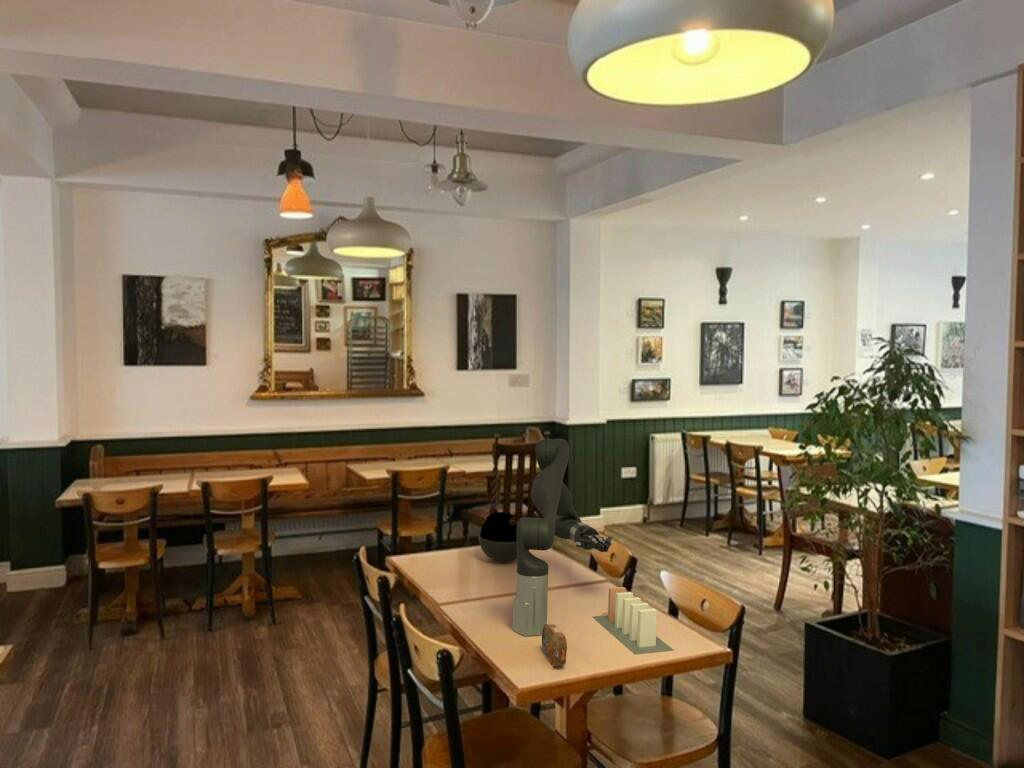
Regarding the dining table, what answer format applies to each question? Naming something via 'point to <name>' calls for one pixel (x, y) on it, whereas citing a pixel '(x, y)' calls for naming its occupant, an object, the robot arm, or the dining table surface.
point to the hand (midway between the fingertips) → (604, 548)
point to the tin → (554, 645)
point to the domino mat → (626, 641)
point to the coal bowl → (499, 538)
